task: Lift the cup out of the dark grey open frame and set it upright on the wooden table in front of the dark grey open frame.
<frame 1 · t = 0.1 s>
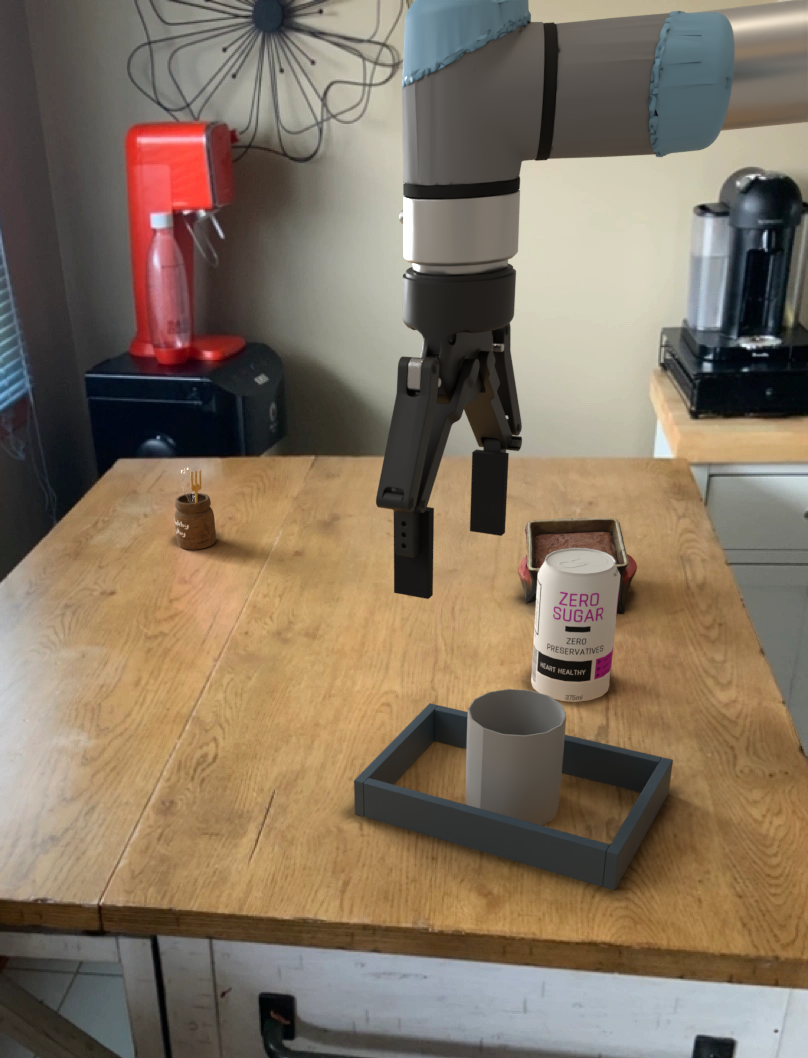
hand: (452, 561, 86), 27 cm above the table, tool pointing down, fingers open, 13 cm apart
cup: (511, 808, 104), resting on dark grey open frame
dark grey open frame: (511, 810, 104), on the table
utensil holder: (197, 544, 168), on the table
baking dish: (574, 594, 145), on the table
supplement can: (569, 691, 123), on the table
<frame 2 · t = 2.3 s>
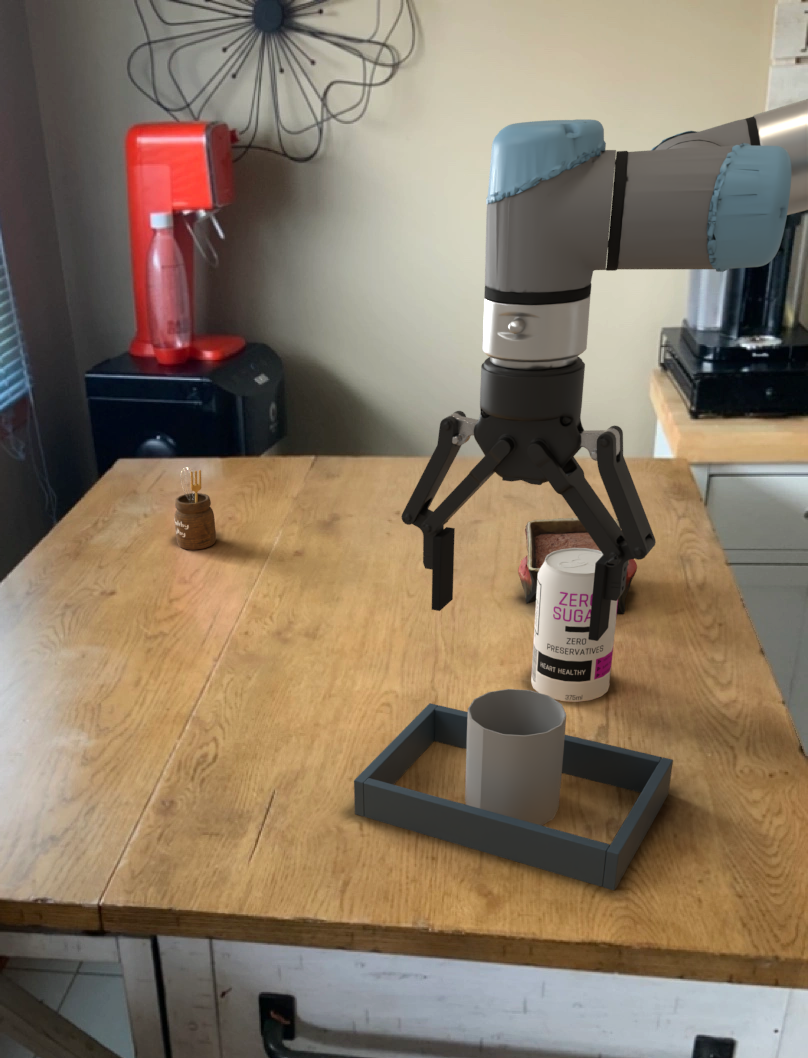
hand: (517, 619, 94), 19 cm above the table, tool pointing down, fingers open, 13 cm apart
nothing on the table moved.
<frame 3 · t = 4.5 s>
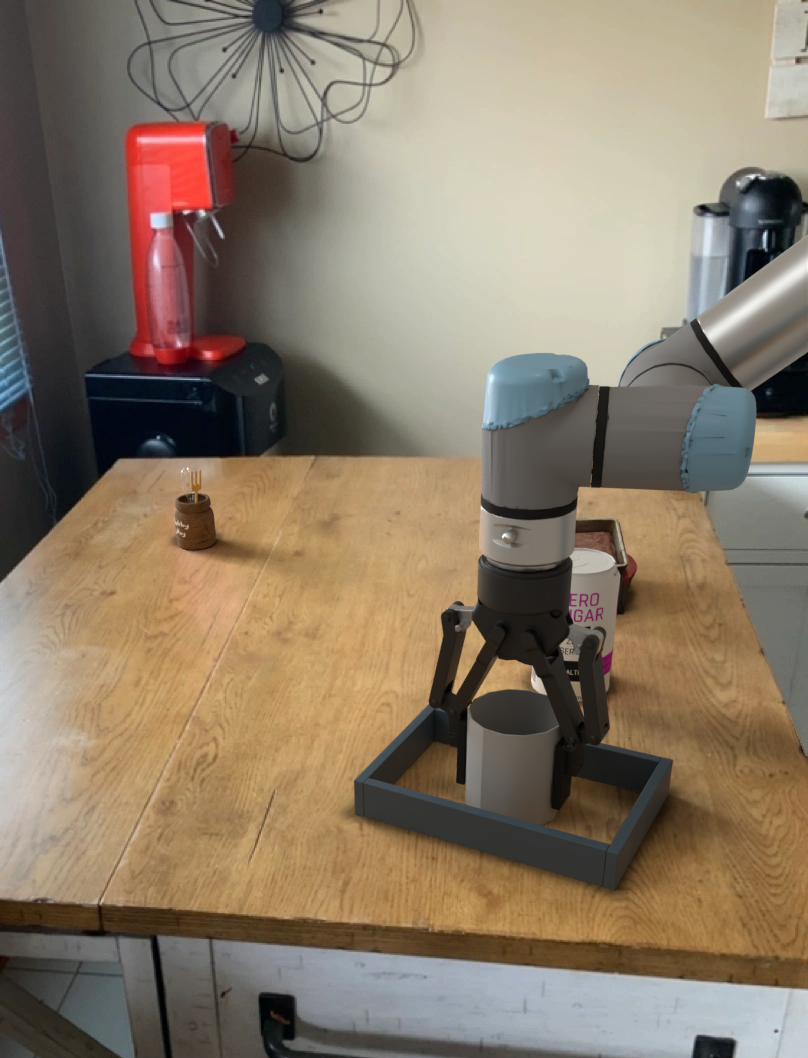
hand: (512, 788, 103), 2 cm above the table, tool pointing down, fingers closed on cup, 8 cm apart
cup: (511, 808, 104), resting on dark grey open frame, touching gripper
everything else where it was.
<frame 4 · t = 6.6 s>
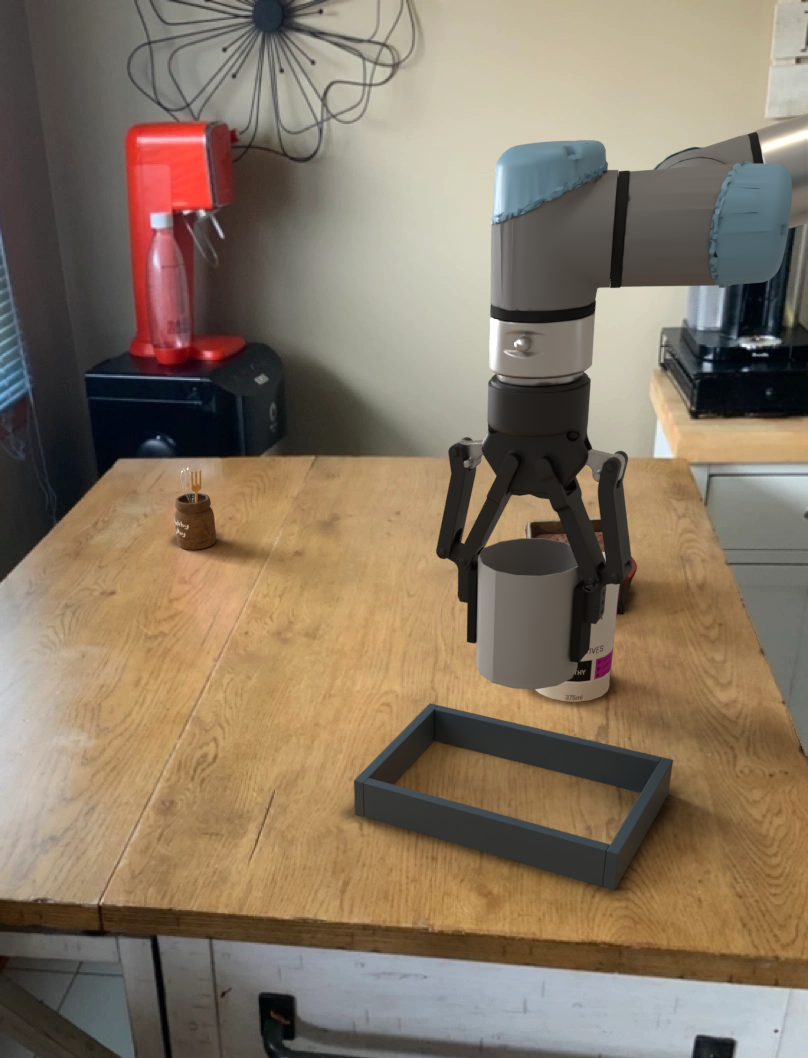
hand: (527, 645, 96), 17 cm above the table, tool pointing down, fingers closed on cup, 8 cm apart
cup: (526, 668, 97), point 15 cm above the table, touching gripper
everything else where it was.
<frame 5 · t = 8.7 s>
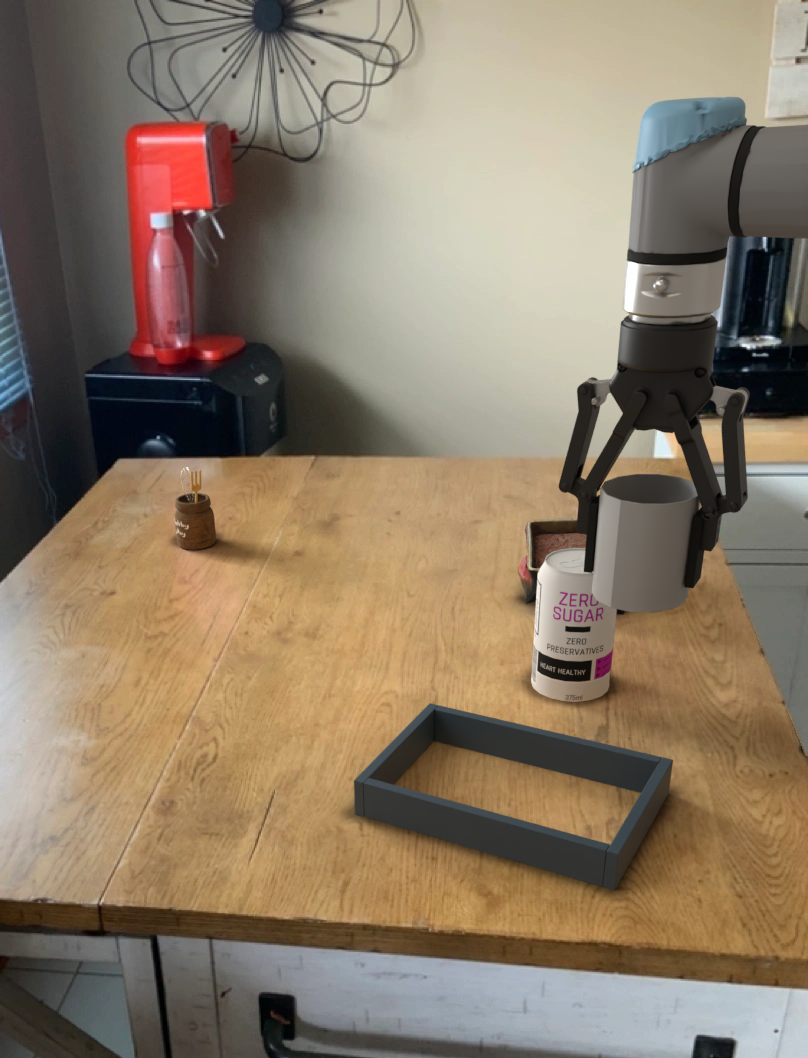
hand: (641, 574, 103), 18 cm above the table, tool pointing down, fingers closed on cup, 8 cm apart
cup: (639, 595, 104), point 16 cm above the table, touching gripper
everything else where it was.
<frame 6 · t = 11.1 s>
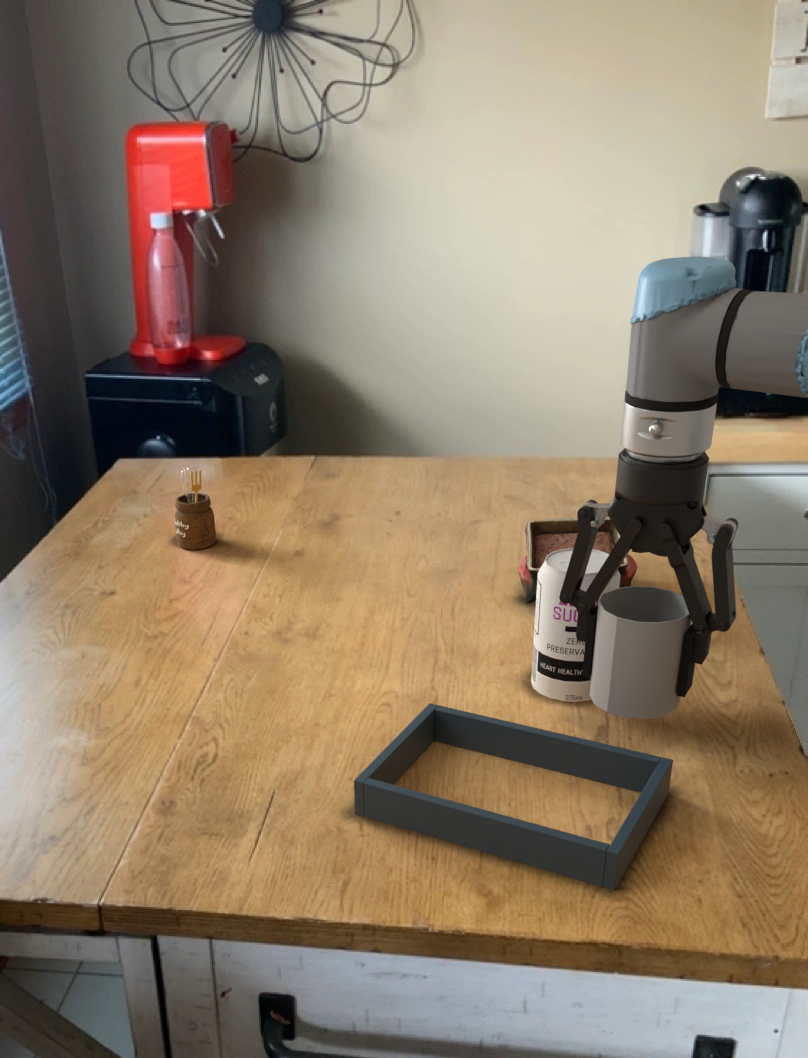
hand: (636, 680, 109), 7 cm above the table, tool pointing down, fingers closed on cup, 8 cm apart
cup: (634, 699, 110), point 5 cm above the table, touching gripper
everything else where it was.
when the fingers open (2 cm above the table, at t = 12.8 s): cup stays where it is, on the table.
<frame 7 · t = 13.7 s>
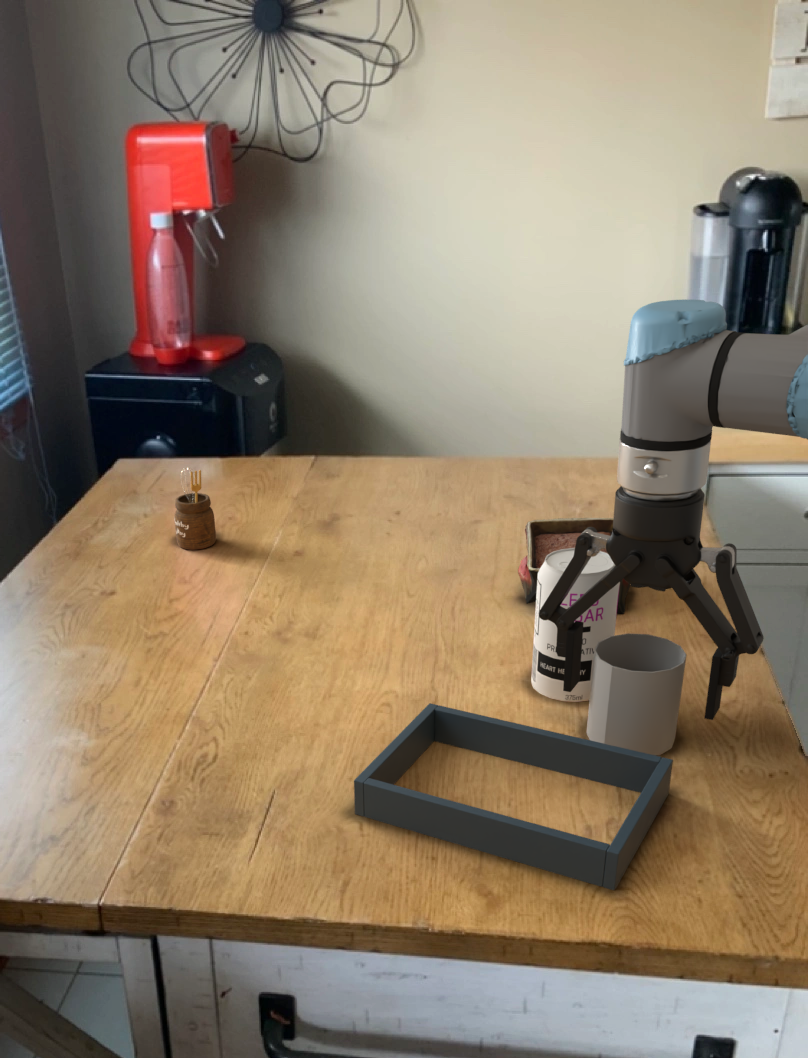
hand: (639, 699, 110), 5 cm above the table, tool pointing down, fingers open, 13 cm apart
cup: (629, 743, 113), on the table
everything else where it was.
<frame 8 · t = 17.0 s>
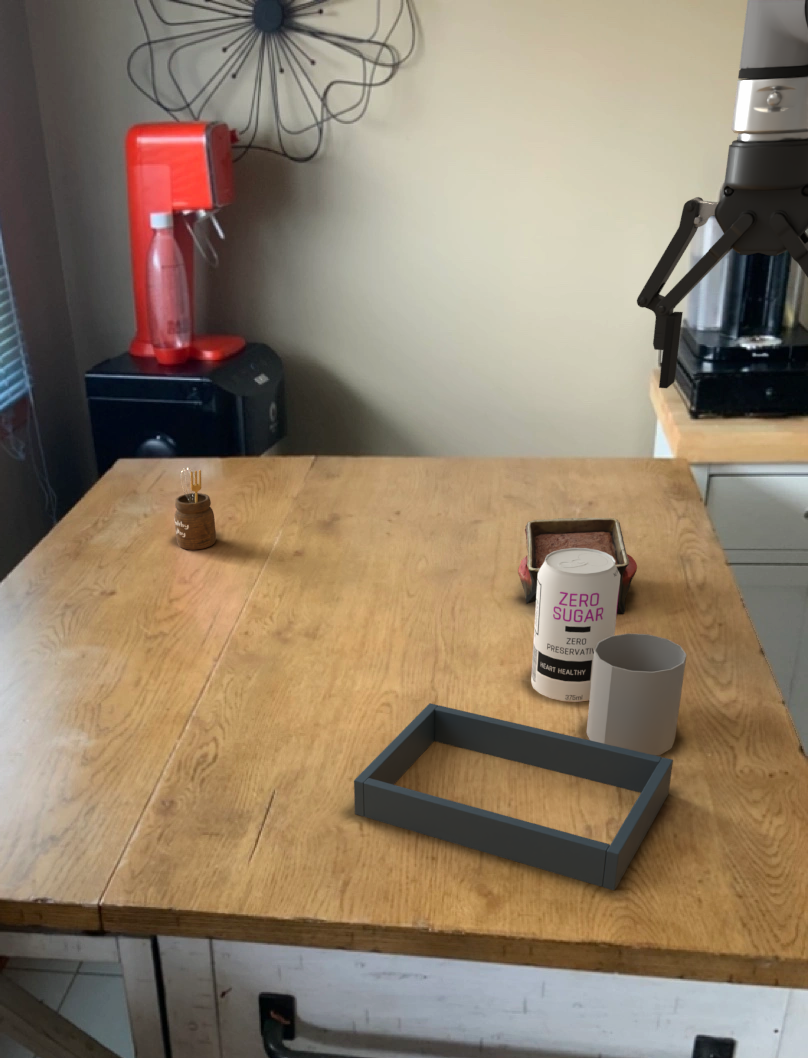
hand: (740, 390, 106), 32 cm above the table, tool pointing down, fingers open, 13 cm apart
nothing on the table moved.
at the end: cup inside the target area (0.1 cm from its centre), on the table; cup tilted 0°; cup touching table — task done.
